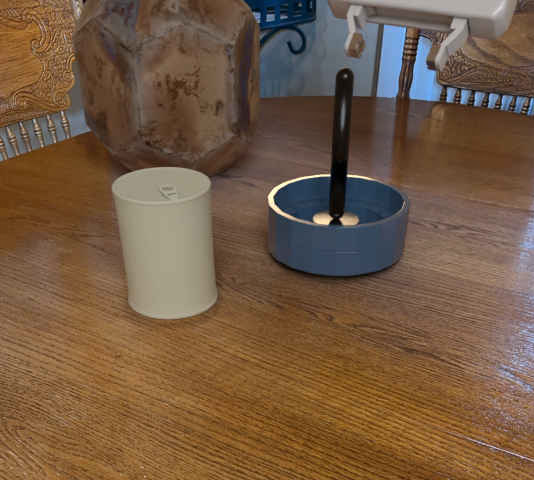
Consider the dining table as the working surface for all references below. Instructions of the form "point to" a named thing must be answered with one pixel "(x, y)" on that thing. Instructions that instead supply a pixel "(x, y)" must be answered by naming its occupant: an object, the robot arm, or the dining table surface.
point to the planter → (170, 80)
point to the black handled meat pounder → (340, 153)
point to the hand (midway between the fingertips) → (391, 60)
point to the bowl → (337, 226)
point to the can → (167, 241)
